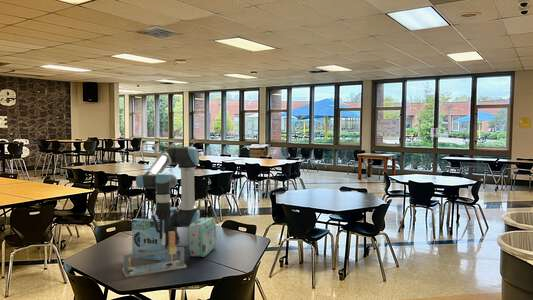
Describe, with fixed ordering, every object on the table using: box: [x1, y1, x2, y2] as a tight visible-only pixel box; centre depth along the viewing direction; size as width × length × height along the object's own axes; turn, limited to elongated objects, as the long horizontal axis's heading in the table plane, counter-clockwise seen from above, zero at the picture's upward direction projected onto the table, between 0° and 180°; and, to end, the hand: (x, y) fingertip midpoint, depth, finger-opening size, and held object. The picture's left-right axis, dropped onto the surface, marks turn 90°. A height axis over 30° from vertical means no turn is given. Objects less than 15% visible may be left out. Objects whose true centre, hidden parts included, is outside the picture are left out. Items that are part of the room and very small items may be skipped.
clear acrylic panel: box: [122, 246, 185, 272], centre depth 218 cm, size 2×32×9 cm, turn 118°
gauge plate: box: [121, 259, 188, 278], centre depth 218 cm, size 11×32×2 cm, turn 118°
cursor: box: [166, 231, 177, 264], centre depth 222 cm, size 4×4×18 cm
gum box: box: [131, 217, 166, 261], centre depth 237 cm, size 20×5×23 cm, turn 72°
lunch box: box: [187, 217, 217, 258], centre depth 248 cm, size 27×10×21 cm, turn 168°
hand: (163, 244), depth 220 cm, fingers closed
